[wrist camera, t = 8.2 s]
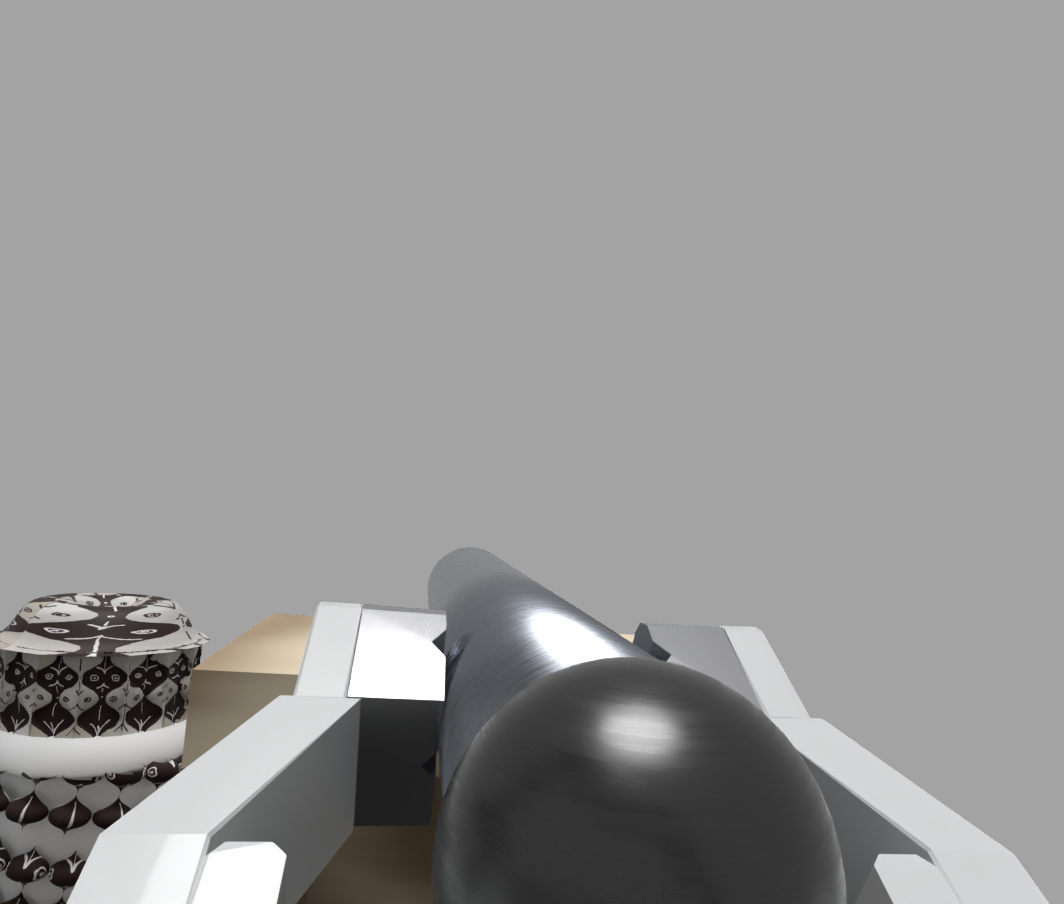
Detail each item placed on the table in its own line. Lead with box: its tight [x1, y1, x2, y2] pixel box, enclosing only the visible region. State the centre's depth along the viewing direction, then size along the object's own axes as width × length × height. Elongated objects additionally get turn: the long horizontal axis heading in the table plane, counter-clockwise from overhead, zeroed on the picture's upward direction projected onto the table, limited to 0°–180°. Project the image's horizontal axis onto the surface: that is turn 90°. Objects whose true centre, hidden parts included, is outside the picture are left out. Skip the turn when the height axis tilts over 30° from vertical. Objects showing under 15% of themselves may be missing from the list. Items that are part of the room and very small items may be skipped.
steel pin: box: [428, 547, 846, 904], centre depth 13 cm, size 3×19×3 cm, turn 8°
